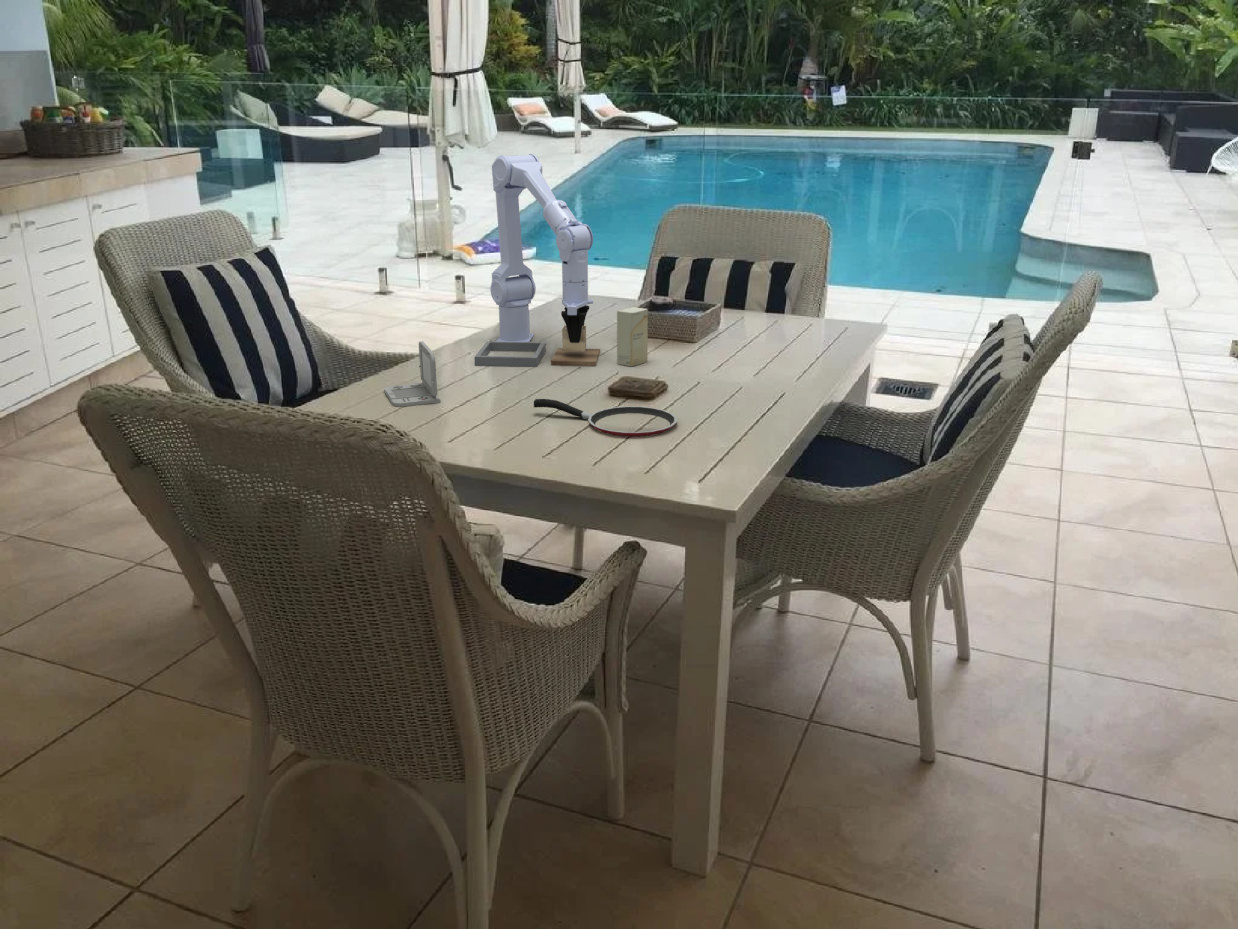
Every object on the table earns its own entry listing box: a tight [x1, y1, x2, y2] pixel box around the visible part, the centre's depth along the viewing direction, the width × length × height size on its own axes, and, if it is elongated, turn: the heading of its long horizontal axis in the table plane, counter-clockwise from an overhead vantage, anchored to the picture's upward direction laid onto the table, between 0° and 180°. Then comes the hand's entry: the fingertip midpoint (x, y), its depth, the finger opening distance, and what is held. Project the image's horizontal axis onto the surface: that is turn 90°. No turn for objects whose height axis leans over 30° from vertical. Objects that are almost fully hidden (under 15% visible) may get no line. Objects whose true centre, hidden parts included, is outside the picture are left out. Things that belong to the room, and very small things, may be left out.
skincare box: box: [616, 306, 649, 367], centre depth 236 cm, size 6×4×12 cm
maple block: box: [561, 325, 587, 351], centre depth 240 cm, size 4×5×5 cm
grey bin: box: [473, 340, 547, 368], centre depth 242 cm, size 15×14×2 cm
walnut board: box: [550, 347, 601, 367], centre depth 241 cm, size 12×10×1 cm
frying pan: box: [533, 398, 678, 438], centre depth 197 cm, size 28×16×3 cm, turn 71°
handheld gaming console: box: [383, 340, 441, 408], centre depth 211 cm, size 13×9×10 cm
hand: (575, 340), depth 240 cm, fingers closed on maple block, 4 cm apart
